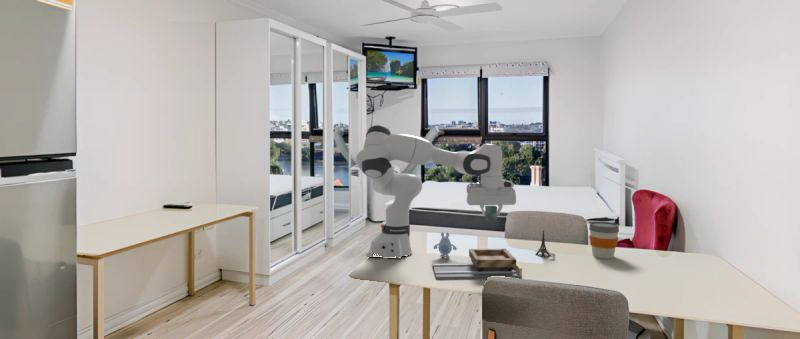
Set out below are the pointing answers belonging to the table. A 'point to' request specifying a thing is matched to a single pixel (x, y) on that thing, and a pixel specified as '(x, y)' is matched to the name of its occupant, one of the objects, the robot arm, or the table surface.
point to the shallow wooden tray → (492, 258)
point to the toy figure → (445, 245)
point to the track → (472, 271)
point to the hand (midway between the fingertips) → (491, 215)
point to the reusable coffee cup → (603, 238)
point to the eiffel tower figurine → (545, 251)
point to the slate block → (491, 213)
